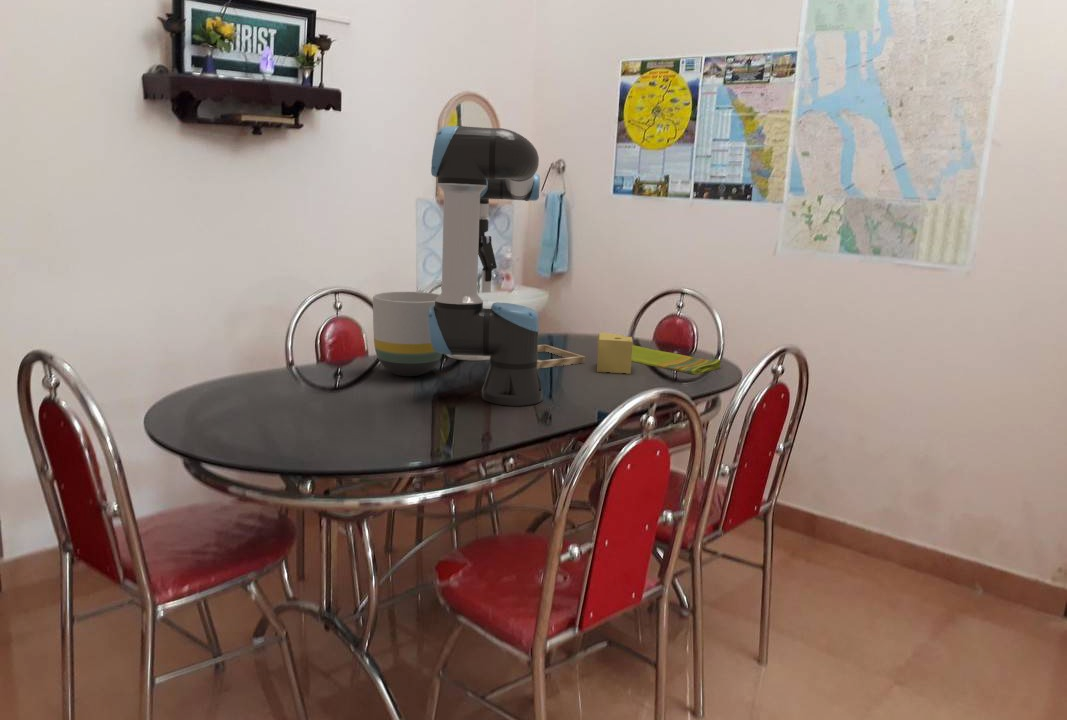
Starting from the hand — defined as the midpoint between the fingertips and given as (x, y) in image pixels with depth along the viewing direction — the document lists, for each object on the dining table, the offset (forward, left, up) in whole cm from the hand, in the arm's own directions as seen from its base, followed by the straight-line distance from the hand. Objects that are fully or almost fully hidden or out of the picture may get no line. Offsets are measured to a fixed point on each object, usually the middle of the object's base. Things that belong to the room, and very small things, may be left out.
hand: (473, 289), depth 252 cm
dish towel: (+48, -31, -21) cm, 61 cm away
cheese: (+27, -34, -21) cm, 48 cm away
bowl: (0, 0, -20) cm, 20 cm away
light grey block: (+10, -19, -21) cm, 30 cm away
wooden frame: (+16, -14, -20) cm, 29 cm away
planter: (-29, -14, -20) cm, 38 cm away
